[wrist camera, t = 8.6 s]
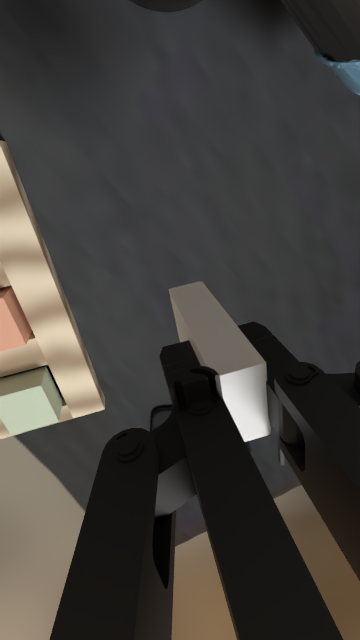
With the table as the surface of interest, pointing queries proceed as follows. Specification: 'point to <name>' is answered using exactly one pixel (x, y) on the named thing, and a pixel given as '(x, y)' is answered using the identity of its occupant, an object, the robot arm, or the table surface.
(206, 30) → the table surface
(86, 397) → the key console
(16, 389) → the sage key
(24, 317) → the terracotta key
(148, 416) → the table surface
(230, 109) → the table surface
